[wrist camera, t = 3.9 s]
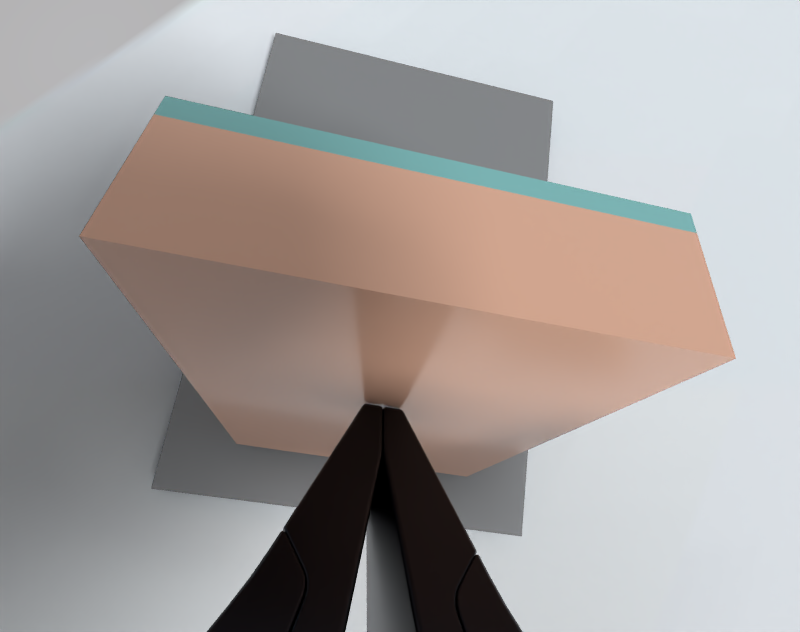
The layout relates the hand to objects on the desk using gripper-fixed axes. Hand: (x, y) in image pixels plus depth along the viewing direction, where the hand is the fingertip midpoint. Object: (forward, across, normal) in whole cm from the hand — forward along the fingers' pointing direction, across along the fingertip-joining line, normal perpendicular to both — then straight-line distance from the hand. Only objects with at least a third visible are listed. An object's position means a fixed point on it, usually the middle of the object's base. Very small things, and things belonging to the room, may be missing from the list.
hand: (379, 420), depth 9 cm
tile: (+4, 0, +5) cm, 6 cm away
